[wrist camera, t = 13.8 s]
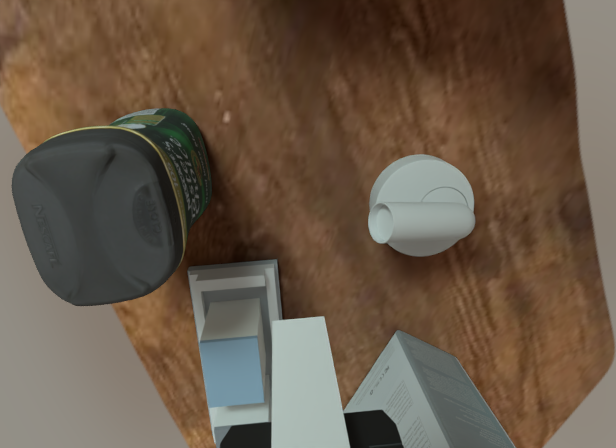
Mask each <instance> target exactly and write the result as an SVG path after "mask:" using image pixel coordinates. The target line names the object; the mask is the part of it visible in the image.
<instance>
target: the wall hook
mask: <svg viewBox="0 0 616 448" xmlns="http://www.w3.org/2000/svg"><path fill="white" fill-rule="evenodd" d="M369 205H370V214H369V218H368V226H369V231H370V234H371V236H372V238H373V239H374V240H375V241H376V242H377V243H388V244H389V245H390V246H391V247H392V248H394V249H395V250H397V251H399V252H401V253H403V254H406V255H410V256H430V255H434V254H437V253H440V252H442V251H444V250H446V249H448V248H449V247H451V246H452V245H454V244H455V243H456V242H457V241H458V240H459V239H462V238H464V237H466V236H467V235H469V234H470V233H471V232H472V230H473V228H474V226H475V216H474V213H473V211H474V196H473V192H472V189H471V186H470V184H469V182H468V180H467V179H466V177H465V176H464V175H463V174H462V173H461V172H460V171H459V170H458V169H457V168H455V167H454V166H452V165H450V164H449V163H447V162H445V161H443V160H441V159H439V158H437V157H434V156H430V155H411V156H407V157H404V158H401V159H399V160H397V161H395V162H394V163H392V164H391V165H389V166H388V167H387V168H386V169H385V170H384V171H383V172H382V173H381V174H380V175H379V177H378V178H377V180H376V182H375V184H374V186H373V188H372V191H371V195H370V203H369Z"/></svg>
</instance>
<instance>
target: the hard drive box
mask: <svg viewBox="0 0 616 448" xmlns="http://www.w3.org/2000/svg"><path fill="white" fill-rule="evenodd" d="M381 409H382V410H383V411H384V412H385V413H386V414H387V415H388V416H389V417H390V418H391V419H392V420H393V421H394V422H395V423H396V426H397V429H398V432H399V434H400V437H401V440H402V445H403V446H404V448H516V447H515V445H514V444H513V442H512V441H511V439H510V438H509V436H508V435H507V433H506V432H505V430H504V429H503V427H502V426H501V424H500V423H499V421H498V420H497V418H496V417H495V415H494V414H493V412H492V411H491V409H490V408H489V406H488V405H487V403H486V402H485V400H484V399H483V397H482V396H481V394H480V393H479V391H478V390H477V388H476V387H475V385H474V384H473V382H472V381H471V379H470V377H469V376H468V374H467V373H466V371H465V370H464V368H463V367H462V365H461V364H460V362H459V361H458V359H457V358H456V357H455V356H453V355H451V354H449V353H447V352H444V351H442V350H440V349H438V348H436V347H434V346H432V345H430V344H428V343H426V342H423V341H421V340H419V339H417V338H415V337H413V336H411V335H409V334H406V333H404V332H402V331H400V330H397V331H396V333H395V334H394V335H393V337H392V338H391V340H390V341H389V343H388V345H387V346H386V348H385V349H384V350H383V352H382V353H381V355H380V356H379V358H378V359H377V361H376V362H375V364H374V365H373V367H372V369H371V370H370V372H369V373H368V375H367V376H366V378H365V379H364V381H363V382H362V384H361V385H360V387H359V388H358V390H357V391H356V393H355V394H354V396H353V397H352V399H351V400H350V402H349V403H348V405H347V406H346V408H345V409H344V410H343V413H351V412H361V411H371V410H381Z"/></svg>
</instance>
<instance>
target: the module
mask: <svg viewBox="0 0 616 448" xmlns="http://www.w3.org/2000/svg"><path fill="white" fill-rule="evenodd" d="M199 345H200V351H201V358H202V364H203V371H204V377H205V384H206V390H207V397H208V403H209V408H213V407H223V406H233V405H243V404H253V403H264V400H265V367H266V351H265V342H264V333H263V323H262V314H261V304H260V298H254V299H242V300H231V301H220V302H210V306H209V310H208V313H207V317H206V321H205V324H204V328H203V332H202V335H201V339H200V343H199Z"/></svg>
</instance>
